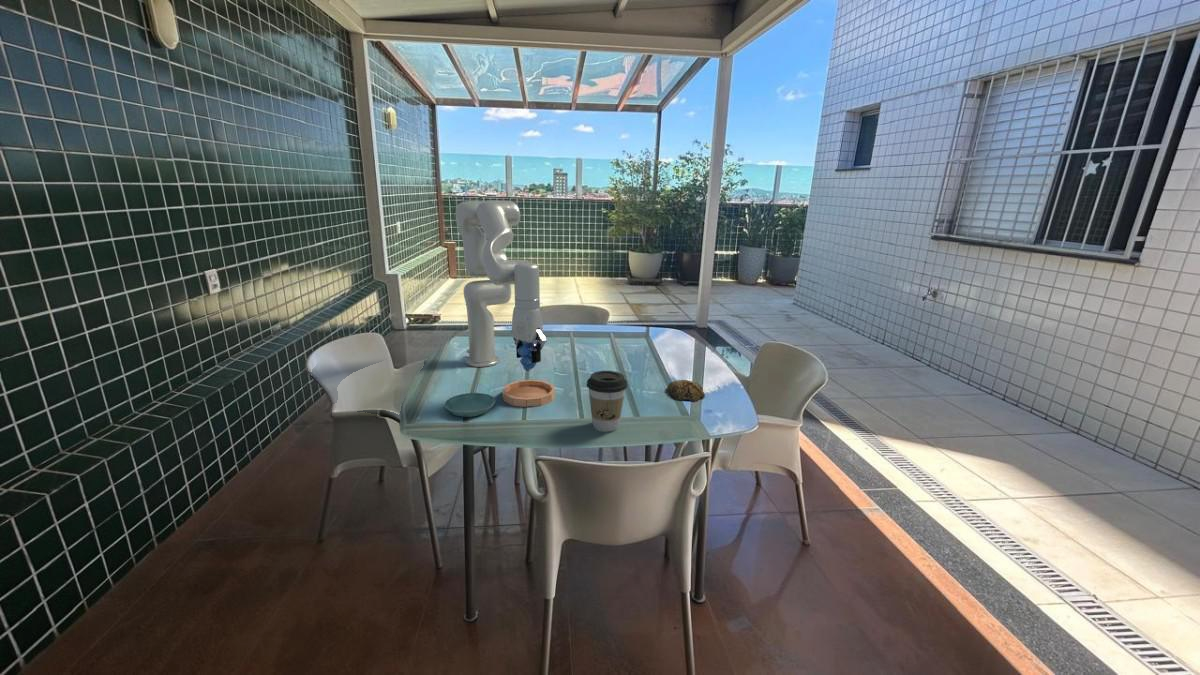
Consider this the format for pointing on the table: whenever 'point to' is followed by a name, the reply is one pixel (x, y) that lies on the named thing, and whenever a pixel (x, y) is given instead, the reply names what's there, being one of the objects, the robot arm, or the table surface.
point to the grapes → (526, 355)
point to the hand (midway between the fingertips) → (528, 359)
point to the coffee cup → (606, 399)
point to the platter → (528, 393)
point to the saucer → (470, 404)
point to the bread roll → (685, 390)
